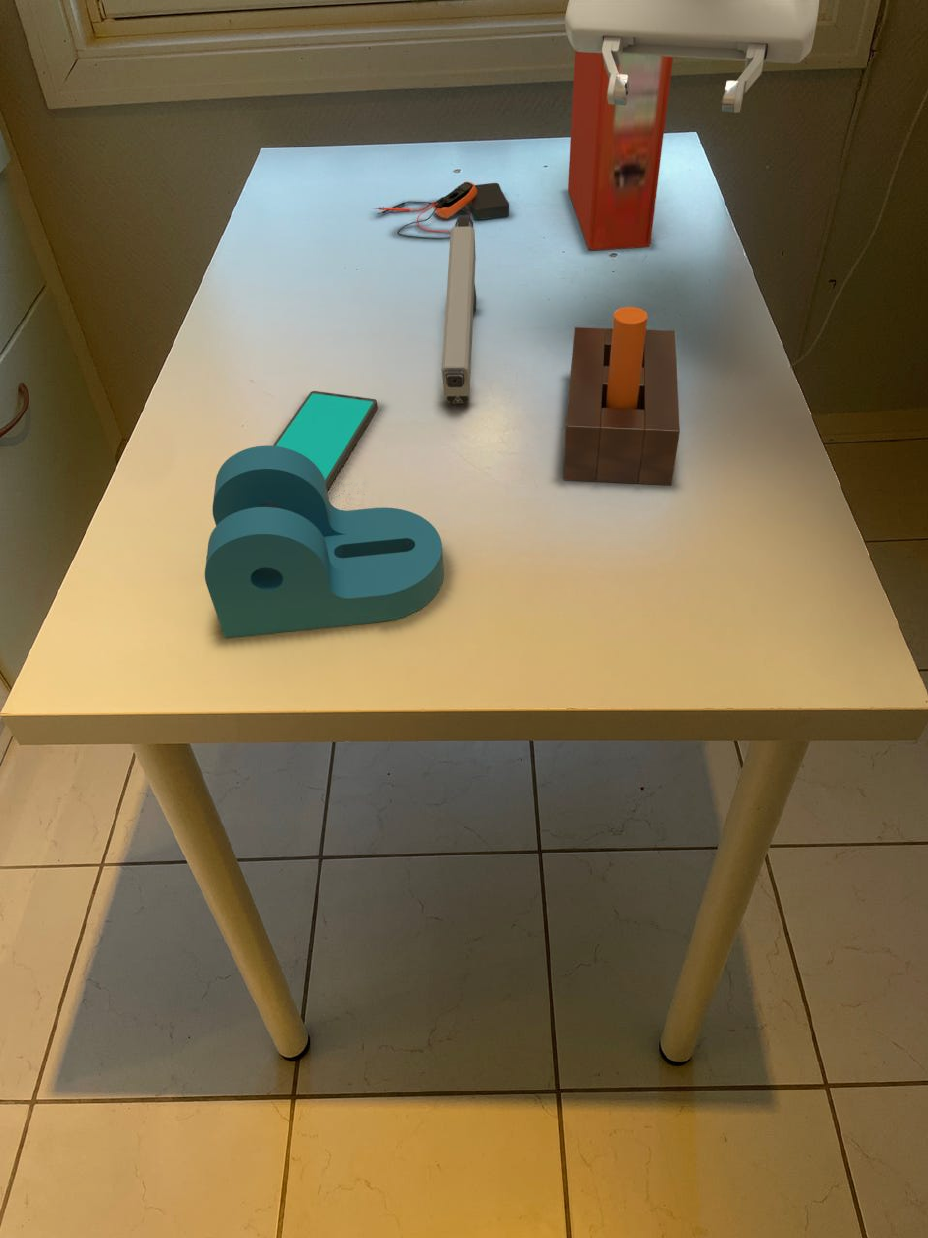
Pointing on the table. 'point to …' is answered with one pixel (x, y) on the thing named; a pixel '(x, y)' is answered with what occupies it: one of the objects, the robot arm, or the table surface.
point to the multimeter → (465, 203)
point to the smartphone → (327, 429)
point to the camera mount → (310, 551)
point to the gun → (459, 312)
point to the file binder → (617, 149)
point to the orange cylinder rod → (626, 358)
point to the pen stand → (622, 413)
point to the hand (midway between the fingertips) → (672, 104)
